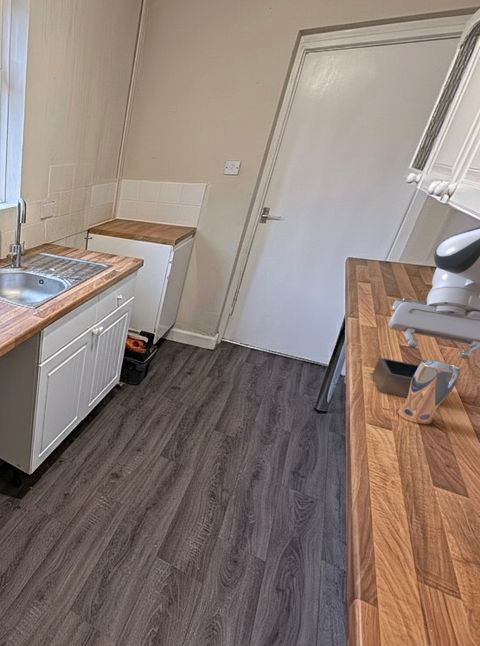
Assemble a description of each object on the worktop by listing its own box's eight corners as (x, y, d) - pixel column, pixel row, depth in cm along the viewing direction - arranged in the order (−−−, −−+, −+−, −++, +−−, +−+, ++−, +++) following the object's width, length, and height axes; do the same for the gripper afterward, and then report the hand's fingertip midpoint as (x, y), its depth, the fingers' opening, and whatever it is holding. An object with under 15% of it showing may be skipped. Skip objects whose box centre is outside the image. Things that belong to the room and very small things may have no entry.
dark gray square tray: (425, 385, 119) (434, 368, 117) (438, 404, 110) (448, 386, 108) (372, 374, 125) (379, 357, 122) (379, 391, 116) (388, 373, 114)
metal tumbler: (390, 413, 106) (415, 362, 100) (402, 406, 109) (427, 356, 103) (427, 428, 101) (456, 375, 95) (438, 420, 104) (467, 368, 98)
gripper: (399, 291, 111) (385, 335, 109) (516, 309, 99) (505, 359, 96) (391, 302, 116) (378, 344, 114) (503, 321, 104) (491, 369, 101)
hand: (437, 351), depth 105 cm, fingers open, 8 cm apart
